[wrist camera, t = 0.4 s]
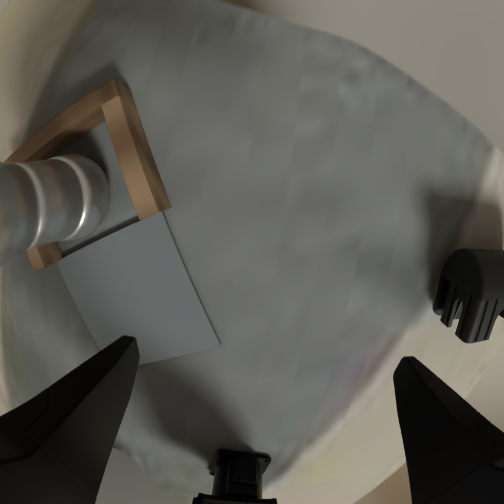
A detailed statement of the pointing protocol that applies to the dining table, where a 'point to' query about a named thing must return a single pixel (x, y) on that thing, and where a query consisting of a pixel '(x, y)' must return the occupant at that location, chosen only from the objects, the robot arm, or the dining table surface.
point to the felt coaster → (139, 292)
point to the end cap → (471, 292)
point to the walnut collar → (125, 144)
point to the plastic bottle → (49, 202)
